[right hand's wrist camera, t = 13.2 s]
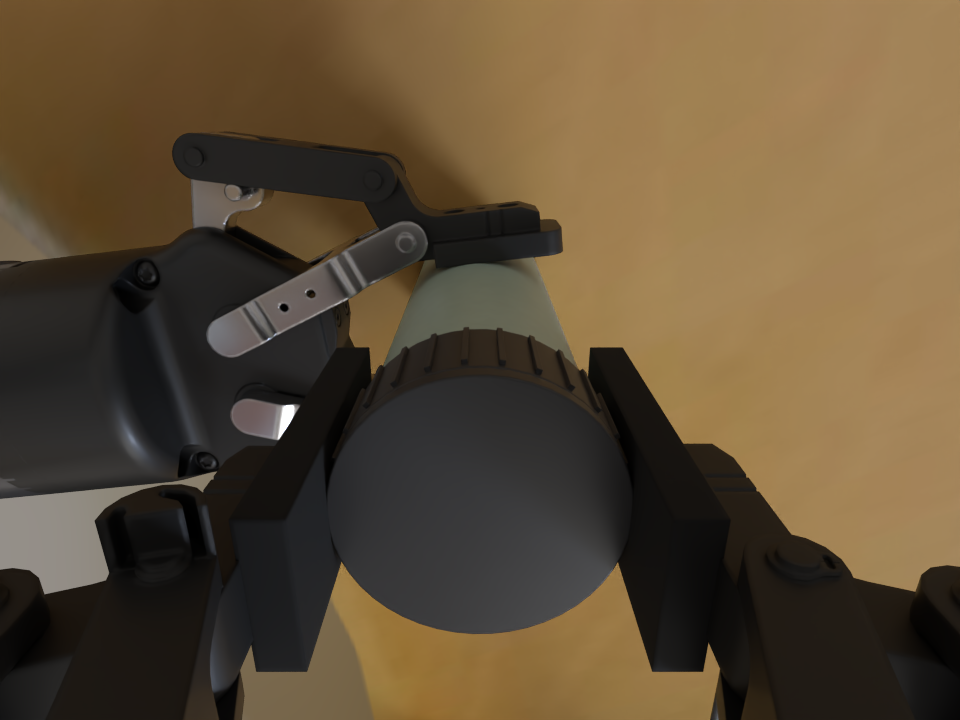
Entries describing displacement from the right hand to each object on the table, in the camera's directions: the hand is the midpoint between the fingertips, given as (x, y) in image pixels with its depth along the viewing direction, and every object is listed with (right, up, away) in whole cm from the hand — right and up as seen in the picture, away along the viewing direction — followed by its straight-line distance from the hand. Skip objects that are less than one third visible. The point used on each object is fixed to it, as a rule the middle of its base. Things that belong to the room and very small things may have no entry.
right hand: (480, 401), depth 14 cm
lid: (0, -2, -4) cm, 4 cm away
